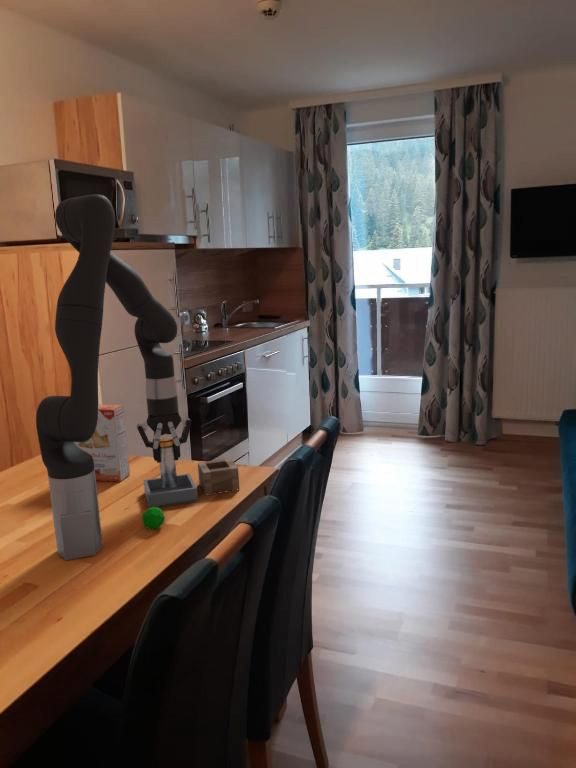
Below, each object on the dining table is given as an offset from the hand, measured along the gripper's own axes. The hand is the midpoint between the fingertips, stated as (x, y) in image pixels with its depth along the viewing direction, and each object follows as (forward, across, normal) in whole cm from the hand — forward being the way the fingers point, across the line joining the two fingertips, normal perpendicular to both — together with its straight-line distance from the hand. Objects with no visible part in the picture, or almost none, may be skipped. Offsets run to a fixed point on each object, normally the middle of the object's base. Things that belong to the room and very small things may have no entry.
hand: (167, 460), depth 163 cm
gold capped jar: (+7, 0, 0) cm, 7 cm away
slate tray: (+10, 0, 0) cm, 10 cm away
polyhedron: (+10, -6, -18) cm, 22 cm away
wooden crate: (+10, +13, +2) cm, 16 cm away
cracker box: (+10, -16, +23) cm, 30 cm away
